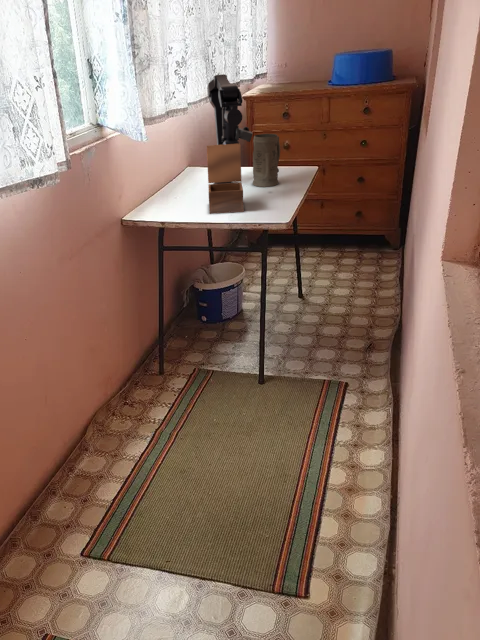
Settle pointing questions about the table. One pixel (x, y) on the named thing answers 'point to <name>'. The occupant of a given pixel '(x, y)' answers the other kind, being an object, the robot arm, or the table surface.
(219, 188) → the walnut box
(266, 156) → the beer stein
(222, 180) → the lid
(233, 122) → the robot arm
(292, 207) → the table surface
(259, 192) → the table surface
